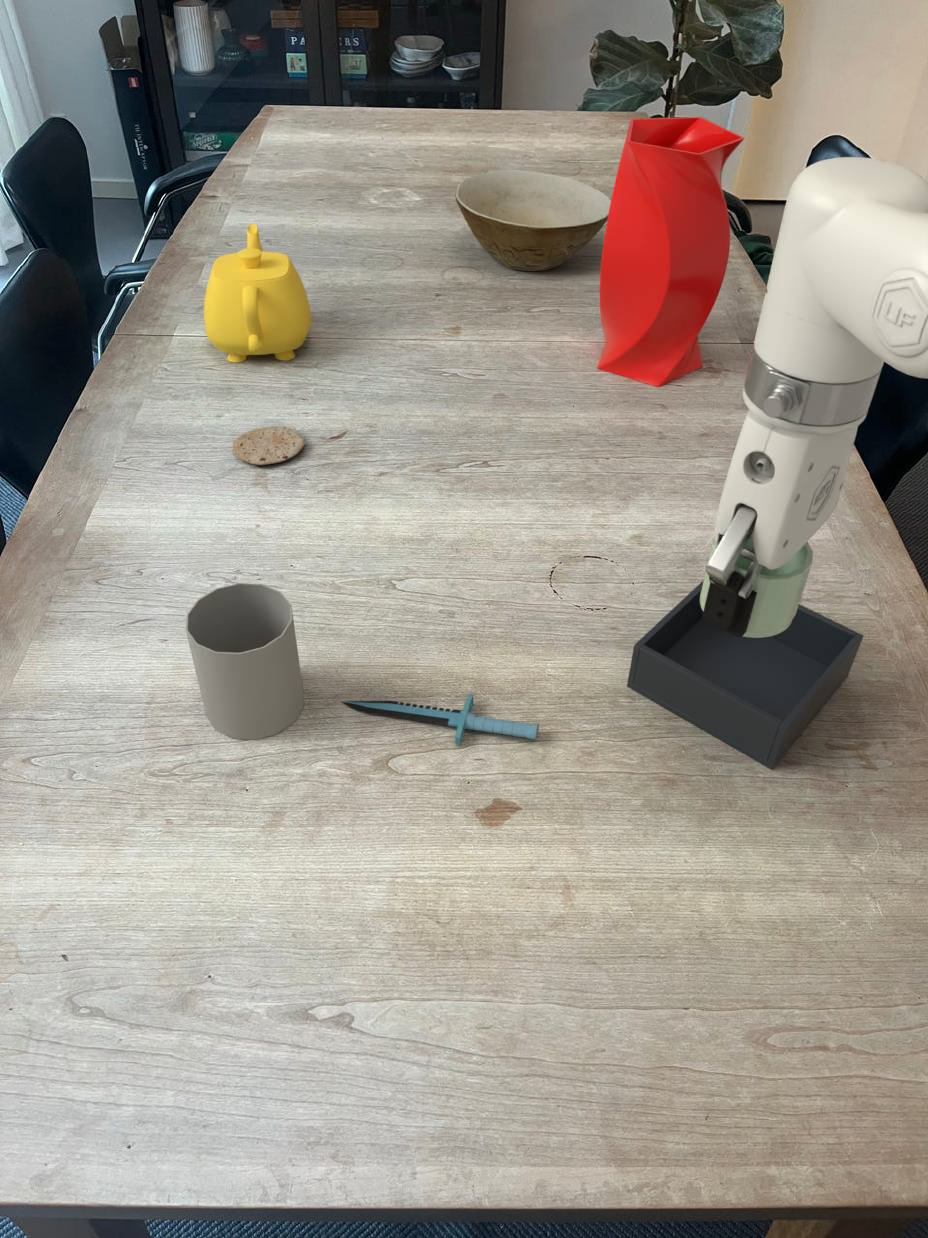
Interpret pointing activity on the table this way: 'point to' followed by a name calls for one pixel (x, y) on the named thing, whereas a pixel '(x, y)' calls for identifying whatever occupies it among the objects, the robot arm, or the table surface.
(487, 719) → the knife
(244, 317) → the teapot
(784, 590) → the green tumbler
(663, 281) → the vase
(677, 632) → the dish tub
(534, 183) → the bowl
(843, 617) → the table surface
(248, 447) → the flatbread
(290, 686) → the cup
